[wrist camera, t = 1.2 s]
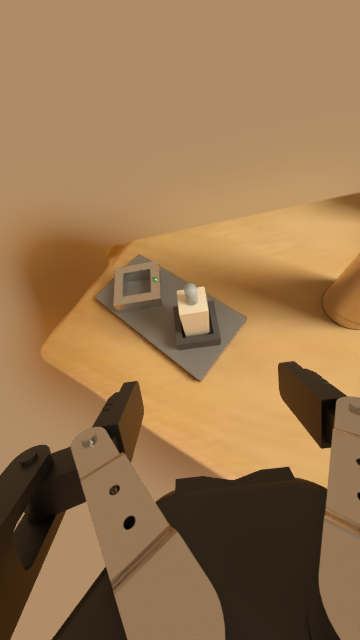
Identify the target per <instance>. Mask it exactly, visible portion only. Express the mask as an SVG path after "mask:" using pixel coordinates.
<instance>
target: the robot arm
mask: <svg viewBox="0 0 360 640" xmlns="http://www.w3.org/2000/svg"><path fill="white" fill-rule="evenodd" d="M322 304H323V308H324V310H325V312H326V313H327V315H328V316H329V317H330V318H331V319H332V320H333V321H335V322H336V323H338V324H339V325H342V326H344V327H347V328H351V329H360V253H359V254H358V256H357V257H356V258H355V259H354V260H353V261H352V262H351V264H350V265H349V266H348V267H347V268H346V269H345V270H344V272H343V273H342V274H341V275H340V276H339V277H338V278H337V279H336V281H335V282H334V283H333V284H332V285H331V286H330V287H329V289H328V290H327V291H326V292H325V294H324V296H323V299H322ZM278 375H279V391H280V395H281V397H282V399H283V401H284V402H285V403H286V404H287V406H288V407H289V408H290V409H291V411H292V412H293V413H294V415H295V416H296V417H297V418H298V420H299V421H300V422H301V423H302V425H303V426H304V427H305V429H306V430H307V431H308V432H309V434H310V435H311V436H312V437H313V439H314V440H315V441H316V443H317V444H318V445H319V446H320V448H321V449H322V448H331V456H330V467H329V478H328V489H326V488H324V487H323V486H320V485H318V484H316V483H313V482H310V481H308V480H304V479H300V478H295V477H294V476H293V474H292V472H291V470H290V468H289V467H283V468H274V469H265V470H259V471H257V472H254V473H251V474H249V475H246V476H244V477H241V478H239V479H236V480H226V479H219V478H212V477H205V476H200V477H191V478H182V479H176V488H175V490H174V491H172V492H170V493H168V494H166V495H164V496H163V497H161V498H160V499H159V500H157V501H156V502H155V501H154V500H153V498H152V497H151V495H150V493H149V492H148V490H147V489H146V487H145V485H144V484H143V482H142V481H141V479H140V477H139V476H138V474H137V473H136V471H135V469H134V468H133V466H132V465H131V461H132V457H133V453H134V449H135V446H136V442H137V438H138V434H139V431H140V427H141V423H142V419H143V415H144V407H143V401H142V397H141V392H140V387H139V383H138V381H134V382H126V383H124V384H123V386H122V387H121V389H120V391H119V392H116V393H114V394H113V395H112V396H111V397H110V398H109V399H108V400H107V402H106V404H105V406H104V408H103V409H102V411H101V413H100V415H99V416H98V418H97V420H96V421H95V423H94V425H93V427H92V428H89V429H87V430H85V431H83V432H82V433H80V434H79V435H78V436H77V437H76V438H75V439H74V440H73V442H72V444H71V447H68V448H66V449H63V450H60V451H57V452H55V453H52V454H51V452H50V449H49V447H48V446H46V445H38V446H35V447H32V448H30V449H28V450H26V451H24V452H23V453H21V454H20V455H19V456H17V457H16V458H15V459H14V460H13V461H12V462H11V463H10V464H9V466H8V467H7V468H6V469H5V470H4V472H3V473H2V474H1V475H0V640H10V639H11V637H12V634H13V632H14V630H15V627H16V625H17V623H18V620H19V618H20V616H21V614H22V611H23V609H24V607H25V604H26V602H27V600H28V597H29V595H30V593H31V590H32V588H33V586H34V583H35V581H36V579H37V577H38V574H39V572H40V570H41V567H42V565H43V563H44V560H45V558H46V556H47V554H48V551H49V549H50V546H51V544H52V542H53V540H54V537H55V535H56V533H57V530H58V528H59V526H60V524H61V521H62V519H63V517H64V514H65V512H66V510H68V509H70V508H72V507H75V506H77V505H79V504H82V503H84V502H86V501H87V504H88V508H89V511H90V514H91V518H92V521H93V525H94V528H95V531H96V535H97V538H98V542H99V545H100V548H101V551H102V555H103V558H104V561H105V565H106V567H105V568H104V570H103V571H102V572H101V574H100V575H99V576H98V578H97V579H96V580H95V582H94V583H93V584H92V586H91V587H90V588H89V590H88V591H87V593H86V594H85V595H84V597H83V598H82V599H81V601H80V602H79V603H78V605H77V606H76V607H75V609H74V610H73V612H72V613H71V614H70V616H69V617H68V618H67V620H66V621H65V622H64V624H63V625H62V626H61V628H60V629H59V630H58V632H57V633H56V635H55V636H54V637H53V639H52V640H360V398H358V397H347V396H346V395H345V394H343V393H342V392H341V391H339V390H338V389H337V388H335V387H334V386H333V385H332V384H329V382H328V381H326V380H325V379H323V378H322V377H321V376H320V375H318V374H317V373H315V372H313V371H311V370H308V369H303V368H302V367H301V366H299V365H298V364H297V363H296V362H294V361H291V362H283V363H279V365H278ZM23 512H24V513H25V515H24V516H23V518H22V520H21V521H20V523H19V524H18V526H17V528H16V529H15V526H16V524H17V522H18V520H19V519H20V517H21V515H22V514H23ZM14 529H15V531H14ZM13 532H14V533H13Z"/></svg>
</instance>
